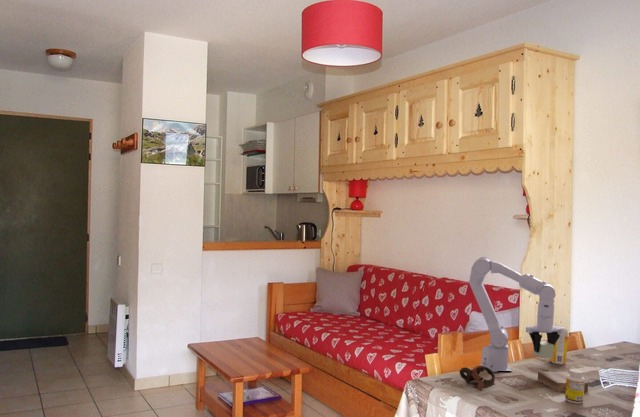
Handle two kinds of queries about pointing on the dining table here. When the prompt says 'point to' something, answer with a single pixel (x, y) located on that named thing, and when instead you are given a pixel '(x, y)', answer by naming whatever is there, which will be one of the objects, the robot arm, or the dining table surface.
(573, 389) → the supplement bottle
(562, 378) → the walnut base
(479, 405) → the dining table surface
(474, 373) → the brown looped piece
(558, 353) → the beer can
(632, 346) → the dining table surface
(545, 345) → the sage block
